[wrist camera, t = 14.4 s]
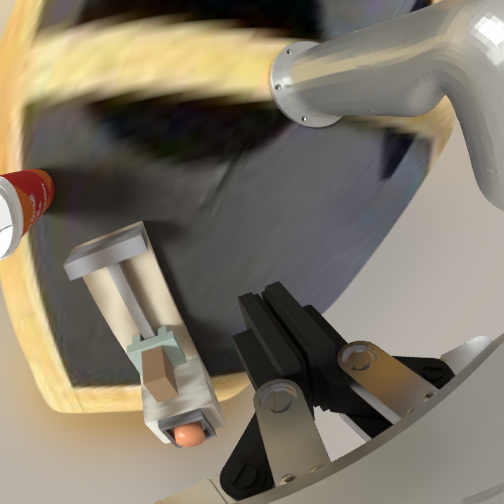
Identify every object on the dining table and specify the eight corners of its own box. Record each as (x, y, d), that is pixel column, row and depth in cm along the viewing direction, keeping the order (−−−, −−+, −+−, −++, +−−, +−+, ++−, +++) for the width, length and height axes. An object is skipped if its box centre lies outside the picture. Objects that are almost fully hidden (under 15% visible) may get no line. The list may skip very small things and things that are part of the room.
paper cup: (38, 232, 30) (-7, 283, 18) (2, 193, 26) (-56, 226, 14) (74, 188, 30) (34, 220, 18) (37, 146, 26) (-20, 156, 14)
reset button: (195, 415, 34) (199, 429, 32) (205, 428, 36) (209, 441, 34) (168, 423, 33) (171, 437, 31) (179, 436, 35) (182, 449, 33)
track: (142, 220, 34) (139, 263, 23) (208, 373, 47) (229, 432, 36) (73, 247, 32) (45, 299, 21) (156, 390, 45) (166, 451, 34)
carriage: (171, 323, 39) (180, 369, 31) (183, 348, 41) (195, 393, 33) (126, 338, 38) (127, 385, 29) (141, 362, 40) (145, 408, 32)
